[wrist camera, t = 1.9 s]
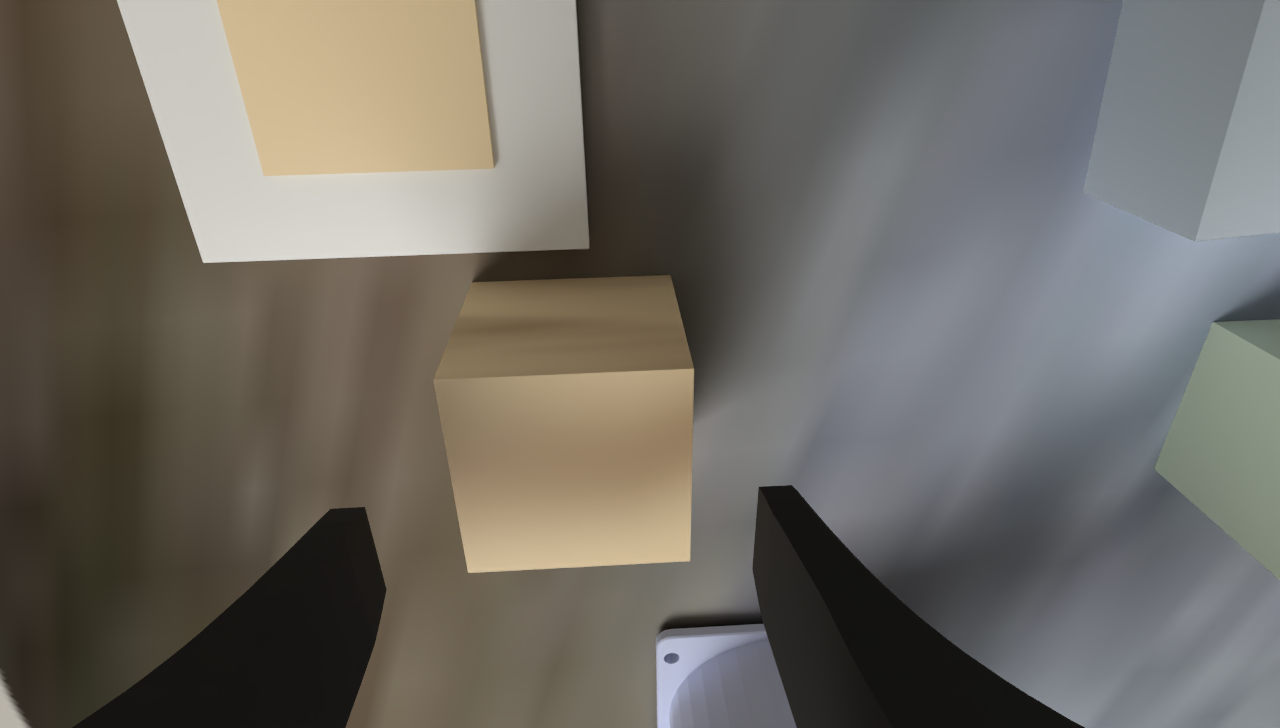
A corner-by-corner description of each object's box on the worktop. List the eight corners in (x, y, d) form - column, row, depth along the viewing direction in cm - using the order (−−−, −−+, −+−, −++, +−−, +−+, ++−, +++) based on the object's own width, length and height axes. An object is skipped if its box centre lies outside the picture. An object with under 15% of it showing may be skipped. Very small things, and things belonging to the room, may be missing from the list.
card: (589, 240, 18) (589, 251, 17) (215, 253, 17) (198, 265, 17) (563, -226, 13) (561, -238, 13) (64, -221, 13) (33, -232, 12)
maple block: (669, 436, 21) (690, 561, 16) (495, 444, 20) (467, 573, 16) (670, 273, 18) (694, 368, 14) (472, 281, 18) (433, 379, 14)
